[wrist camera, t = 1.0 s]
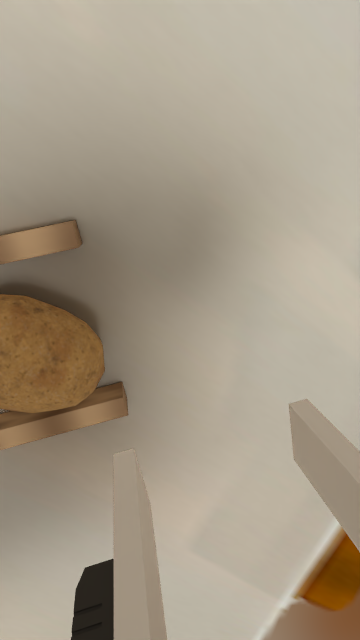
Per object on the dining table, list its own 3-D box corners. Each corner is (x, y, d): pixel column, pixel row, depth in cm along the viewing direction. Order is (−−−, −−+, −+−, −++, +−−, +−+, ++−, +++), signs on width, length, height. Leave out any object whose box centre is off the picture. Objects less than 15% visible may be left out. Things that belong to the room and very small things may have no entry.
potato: (-57, 269, 28) (-118, 293, 21) (113, 297, 32) (114, 325, 24) (-60, 375, 31) (-114, 428, 24) (98, 390, 34) (94, 441, 27)
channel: (-13, 435, 34) (-25, 456, 31) (-99, 255, 27) (-123, 261, 25) (126, 398, 35) (128, 415, 32) (75, 219, 29) (71, 221, 26)
